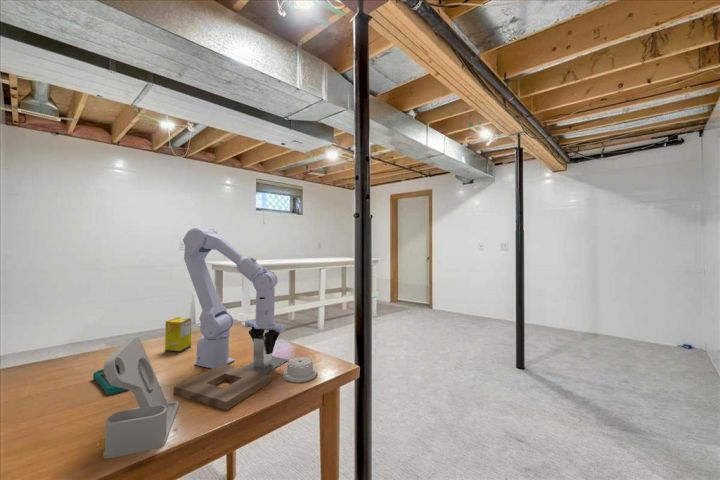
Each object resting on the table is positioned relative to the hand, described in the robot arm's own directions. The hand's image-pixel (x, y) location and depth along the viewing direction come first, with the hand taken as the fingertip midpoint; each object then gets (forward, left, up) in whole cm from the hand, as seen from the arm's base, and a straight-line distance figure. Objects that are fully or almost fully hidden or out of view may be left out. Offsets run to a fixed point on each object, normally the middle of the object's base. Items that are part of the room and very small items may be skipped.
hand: (264, 352), depth 98 cm
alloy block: (0, -1, -4) cm, 4 cm away
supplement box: (-37, -2, -5) cm, 37 cm away
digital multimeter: (-29, -26, -5) cm, 39 cm away
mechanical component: (+14, 0, -5) cm, 15 cm away
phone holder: (-1, -36, -5) cm, 36 cm away
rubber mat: (0, 0, -4) cm, 4 cm away
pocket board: (0, -16, -4) cm, 17 cm away
